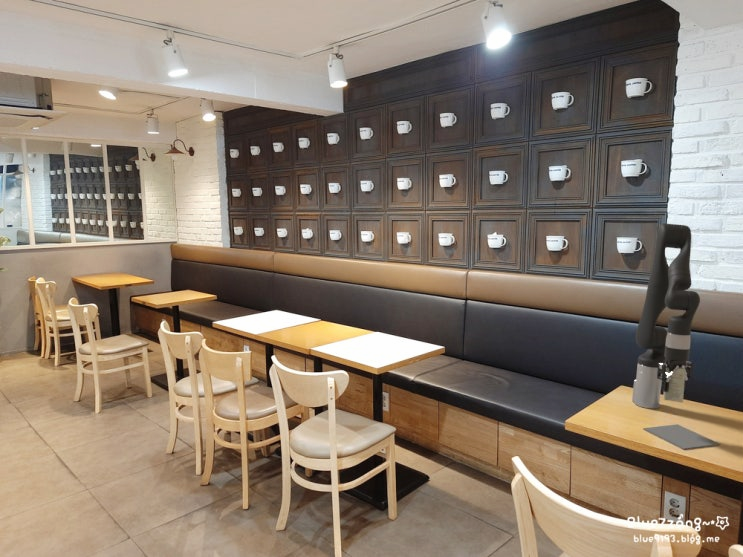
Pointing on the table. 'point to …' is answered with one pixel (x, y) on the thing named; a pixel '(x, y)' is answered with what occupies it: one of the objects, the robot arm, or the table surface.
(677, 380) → the skincare box
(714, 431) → the table surface
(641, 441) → the table surface
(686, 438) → the mat
